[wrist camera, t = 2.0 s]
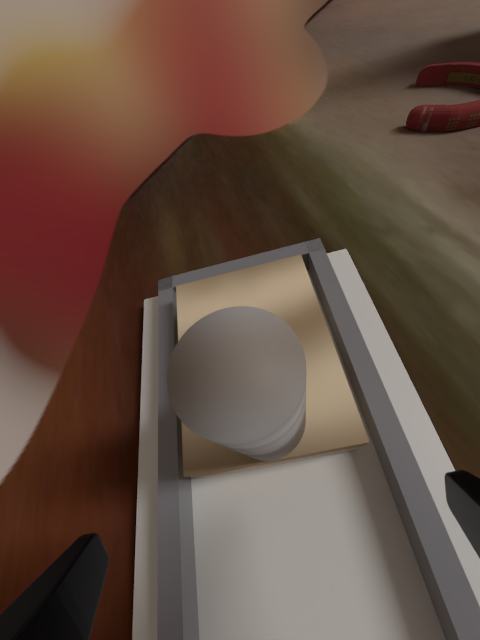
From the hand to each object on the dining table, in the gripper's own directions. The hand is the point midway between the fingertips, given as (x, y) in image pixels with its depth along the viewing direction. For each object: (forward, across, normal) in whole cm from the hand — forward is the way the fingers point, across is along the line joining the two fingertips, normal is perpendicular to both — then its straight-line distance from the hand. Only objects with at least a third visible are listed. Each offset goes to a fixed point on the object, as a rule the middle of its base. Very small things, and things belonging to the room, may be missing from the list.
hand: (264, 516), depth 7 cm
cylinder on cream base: (+12, 0, +2) cm, 12 cm away
